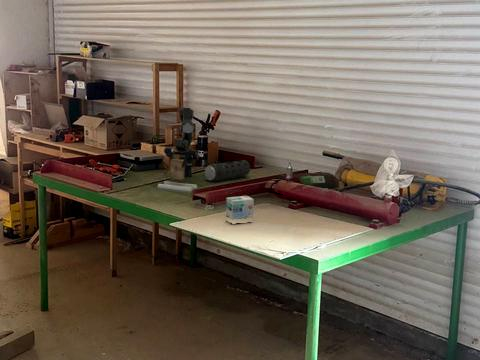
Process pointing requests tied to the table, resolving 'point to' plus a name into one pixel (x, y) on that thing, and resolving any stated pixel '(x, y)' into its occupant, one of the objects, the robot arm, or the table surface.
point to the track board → (177, 187)
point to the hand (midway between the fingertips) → (176, 166)
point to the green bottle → (316, 179)
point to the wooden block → (177, 169)
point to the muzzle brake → (227, 170)
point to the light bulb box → (239, 207)
